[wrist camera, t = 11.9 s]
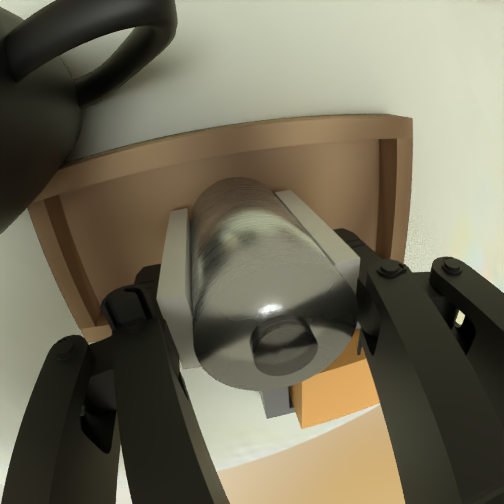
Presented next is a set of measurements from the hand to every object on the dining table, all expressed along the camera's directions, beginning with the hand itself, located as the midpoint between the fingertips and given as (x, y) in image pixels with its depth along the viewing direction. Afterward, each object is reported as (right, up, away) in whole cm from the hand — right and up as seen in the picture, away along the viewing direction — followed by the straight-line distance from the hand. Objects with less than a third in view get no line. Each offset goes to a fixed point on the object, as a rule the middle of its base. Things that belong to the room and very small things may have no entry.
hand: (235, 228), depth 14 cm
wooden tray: (0, +1, +1) cm, 1 cm away
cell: (0, 0, +1) cm, 1 cm away
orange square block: (+6, -8, +6) cm, 12 cm away
